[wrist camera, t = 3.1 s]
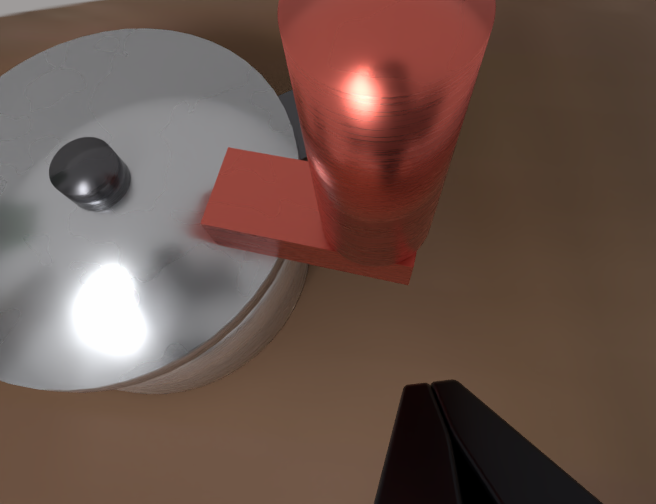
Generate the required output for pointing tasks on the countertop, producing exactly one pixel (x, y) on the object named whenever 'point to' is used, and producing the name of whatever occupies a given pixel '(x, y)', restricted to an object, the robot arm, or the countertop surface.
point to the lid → (215, 178)
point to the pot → (256, 324)
